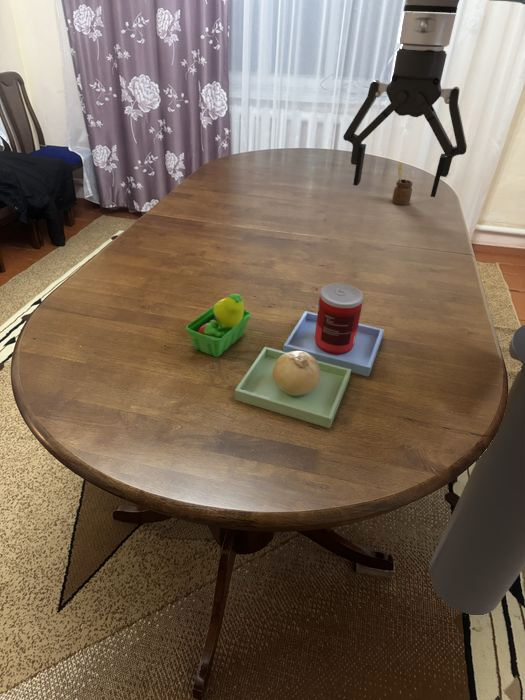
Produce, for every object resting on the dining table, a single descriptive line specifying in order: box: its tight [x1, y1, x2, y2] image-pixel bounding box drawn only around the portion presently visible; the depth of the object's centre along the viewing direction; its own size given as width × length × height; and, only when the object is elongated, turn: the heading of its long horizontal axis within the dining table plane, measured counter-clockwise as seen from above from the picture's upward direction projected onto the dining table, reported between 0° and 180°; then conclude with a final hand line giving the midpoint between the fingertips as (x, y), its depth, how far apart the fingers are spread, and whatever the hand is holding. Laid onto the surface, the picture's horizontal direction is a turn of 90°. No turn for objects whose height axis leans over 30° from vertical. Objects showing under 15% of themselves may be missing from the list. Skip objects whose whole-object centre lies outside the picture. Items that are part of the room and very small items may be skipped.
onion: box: [273, 351, 320, 396], centre depth 77 cm, size 8×8×7 cm
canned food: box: [315, 282, 364, 355], centre depth 86 cm, size 8×8×11 cm
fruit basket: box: [185, 293, 252, 358], centre depth 86 cm, size 11×9×11 cm
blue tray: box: [282, 310, 385, 378], centre depth 89 cm, size 16×13×2 cm
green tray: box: [234, 346, 352, 429], centre depth 79 cm, size 16×13×2 cm
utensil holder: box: [391, 163, 416, 206], centre depth 155 cm, size 6×6×12 cm
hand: (394, 189), depth 83 cm, fingers open, 13 cm apart
